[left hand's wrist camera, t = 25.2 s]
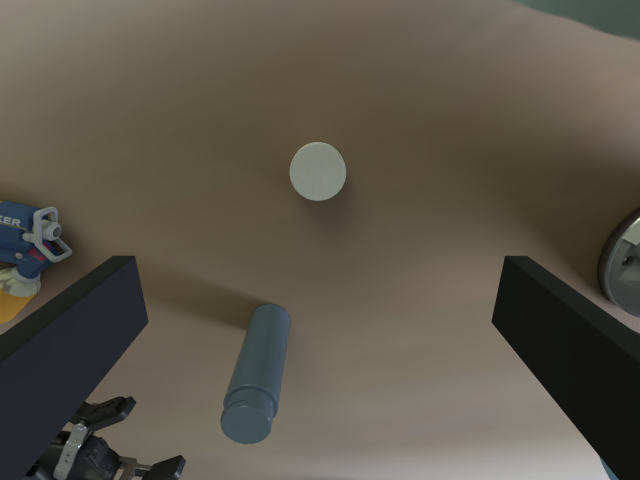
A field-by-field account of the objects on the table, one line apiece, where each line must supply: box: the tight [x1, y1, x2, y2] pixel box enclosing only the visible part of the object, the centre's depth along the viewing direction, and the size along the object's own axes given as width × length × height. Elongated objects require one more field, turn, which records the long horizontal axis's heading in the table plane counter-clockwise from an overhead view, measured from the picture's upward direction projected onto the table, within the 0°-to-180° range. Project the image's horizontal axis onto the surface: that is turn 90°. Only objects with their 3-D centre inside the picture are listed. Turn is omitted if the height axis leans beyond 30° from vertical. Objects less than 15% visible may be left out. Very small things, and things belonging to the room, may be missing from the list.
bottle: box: [221, 304, 290, 444], centre depth 36 cm, size 5×5×15 cm
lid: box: [290, 142, 346, 201], centre depth 35 cm, size 6×6×2 cm
